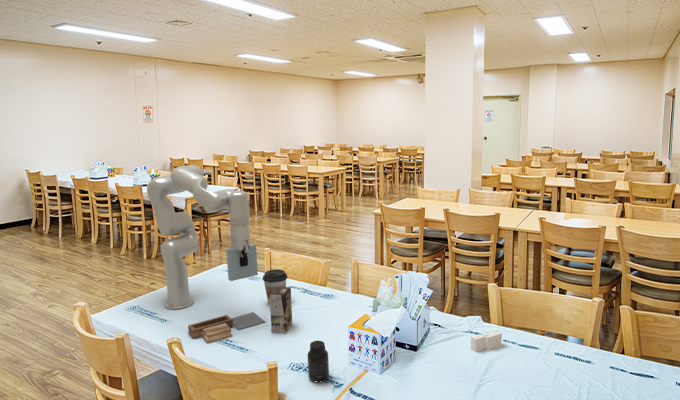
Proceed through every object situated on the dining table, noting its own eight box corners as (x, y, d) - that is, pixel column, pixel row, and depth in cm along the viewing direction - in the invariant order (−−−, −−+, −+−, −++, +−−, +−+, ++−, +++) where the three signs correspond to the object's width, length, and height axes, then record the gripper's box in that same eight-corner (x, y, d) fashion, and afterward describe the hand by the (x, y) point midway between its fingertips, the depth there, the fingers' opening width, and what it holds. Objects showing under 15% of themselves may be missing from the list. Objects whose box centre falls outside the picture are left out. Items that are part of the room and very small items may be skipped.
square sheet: (228, 279, 192) (226, 249, 190) (255, 273, 199) (253, 243, 197) (230, 281, 190) (228, 250, 188) (257, 274, 197) (256, 245, 195)
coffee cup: (259, 306, 213) (257, 275, 211) (272, 297, 224) (270, 267, 221) (281, 310, 209) (279, 278, 206) (293, 300, 219) (291, 269, 217)
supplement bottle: (308, 372, 158) (306, 339, 156) (328, 371, 158) (327, 338, 156) (308, 384, 151) (307, 349, 149) (329, 382, 152) (328, 348, 149)
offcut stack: (201, 337, 186) (201, 329, 185) (226, 330, 191) (225, 322, 190) (207, 344, 180) (206, 335, 179) (232, 337, 185) (231, 328, 184)
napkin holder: (503, 342, 176) (504, 328, 175) (508, 357, 165) (508, 342, 164) (462, 339, 179) (462, 325, 178) (464, 354, 168) (464, 339, 167)
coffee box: (286, 333, 186) (284, 295, 183) (270, 332, 188) (268, 294, 185) (293, 323, 195) (291, 286, 192) (278, 322, 196) (276, 286, 193)
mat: (227, 320, 200) (227, 319, 200) (253, 313, 207) (253, 312, 206) (238, 330, 190) (238, 329, 190) (265, 322, 197) (265, 321, 197)
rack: (188, 333, 188) (187, 325, 188) (227, 322, 198) (226, 314, 197) (193, 339, 184) (192, 330, 183) (233, 327, 193) (232, 319, 192)
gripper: (223, 219, 195) (226, 262, 198) (239, 226, 182) (242, 271, 185) (240, 217, 199) (243, 258, 202) (256, 223, 186) (259, 268, 189)
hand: (242, 264), depth 194 cm, fingers closed on square sheet, 2 cm apart
